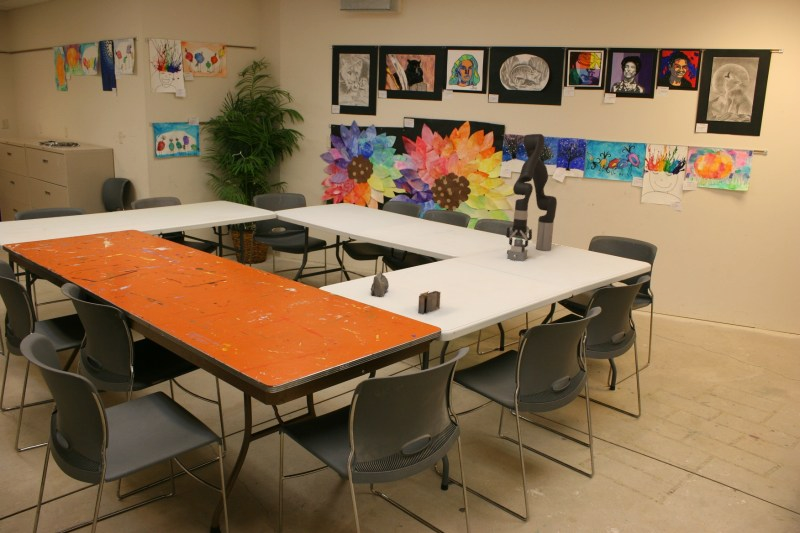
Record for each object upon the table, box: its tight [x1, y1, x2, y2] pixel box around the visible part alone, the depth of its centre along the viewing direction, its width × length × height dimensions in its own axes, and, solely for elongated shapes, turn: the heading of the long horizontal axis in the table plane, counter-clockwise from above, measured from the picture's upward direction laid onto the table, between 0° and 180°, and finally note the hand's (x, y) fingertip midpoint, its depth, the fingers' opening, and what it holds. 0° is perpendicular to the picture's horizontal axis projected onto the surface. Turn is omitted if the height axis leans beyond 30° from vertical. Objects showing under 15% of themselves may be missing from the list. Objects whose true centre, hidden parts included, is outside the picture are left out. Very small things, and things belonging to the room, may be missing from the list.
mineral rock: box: [370, 271, 390, 297], centre depth 299 cm, size 13×11×10 cm
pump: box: [513, 237, 524, 247], centre depth 383 cm, size 5×5×7 cm
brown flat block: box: [417, 290, 441, 315], centre depth 276 cm, size 11×3×10 cm, turn 141°
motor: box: [506, 243, 528, 262], centre depth 384 cm, size 12×11×8 cm
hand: (518, 246), depth 383 cm, fingers open, 8 cm apart
